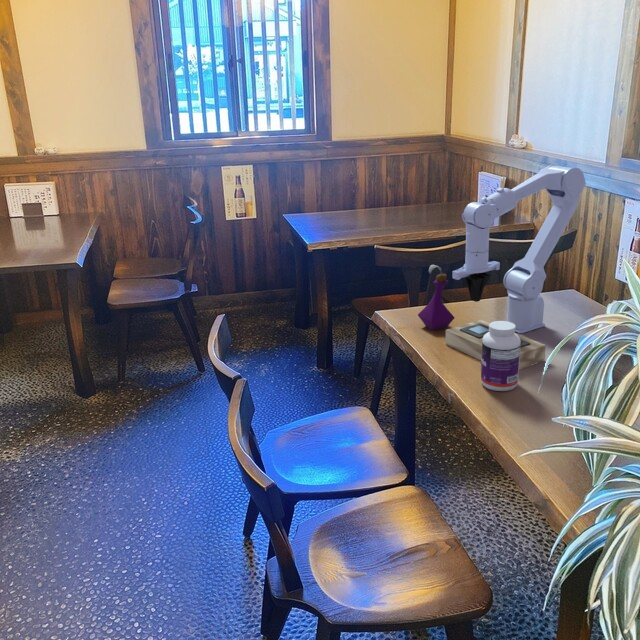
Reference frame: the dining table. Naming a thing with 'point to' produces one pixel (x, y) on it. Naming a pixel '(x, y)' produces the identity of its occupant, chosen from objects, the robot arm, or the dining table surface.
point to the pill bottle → (500, 357)
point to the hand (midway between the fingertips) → (475, 300)
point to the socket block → (473, 344)
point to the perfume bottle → (436, 306)
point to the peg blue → (479, 330)
